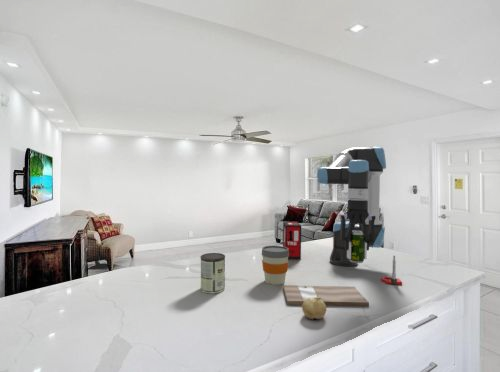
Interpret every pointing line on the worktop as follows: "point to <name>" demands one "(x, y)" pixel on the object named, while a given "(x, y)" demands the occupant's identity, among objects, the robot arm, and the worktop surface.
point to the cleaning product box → (292, 239)
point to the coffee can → (212, 273)
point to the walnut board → (325, 295)
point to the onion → (314, 307)
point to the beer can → (357, 246)
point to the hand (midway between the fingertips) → (356, 258)
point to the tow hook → (393, 278)
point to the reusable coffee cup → (275, 264)
